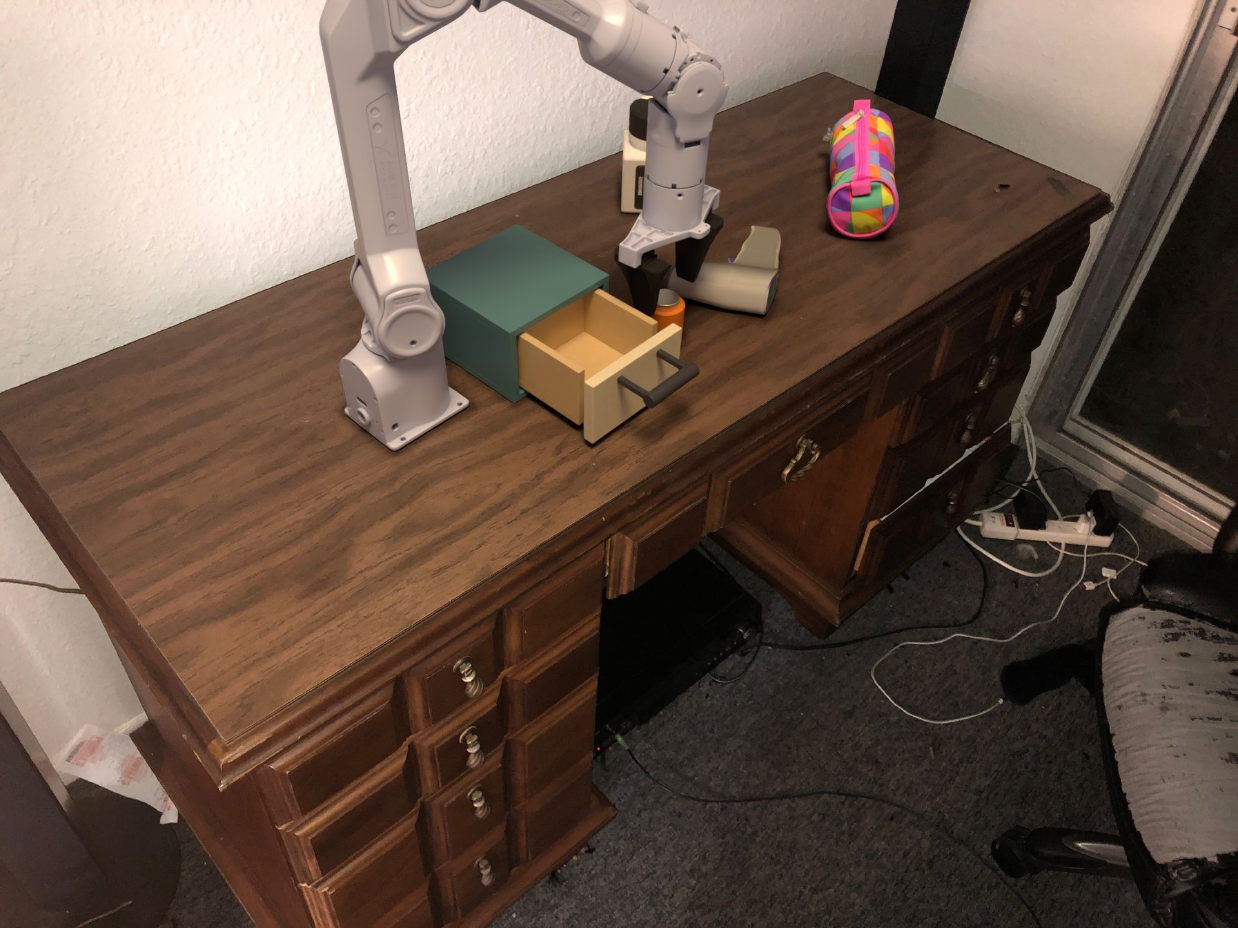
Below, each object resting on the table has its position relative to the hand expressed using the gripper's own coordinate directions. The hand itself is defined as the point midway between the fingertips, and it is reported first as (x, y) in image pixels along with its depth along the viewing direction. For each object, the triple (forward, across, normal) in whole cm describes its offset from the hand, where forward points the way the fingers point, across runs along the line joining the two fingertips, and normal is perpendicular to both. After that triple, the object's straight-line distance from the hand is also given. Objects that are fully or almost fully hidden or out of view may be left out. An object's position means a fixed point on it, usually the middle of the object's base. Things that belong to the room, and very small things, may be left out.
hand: (665, 294), depth 98 cm
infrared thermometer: (+6, +15, +1) cm, 16 cm away
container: (+6, +23, +18) cm, 30 cm away
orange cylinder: (+6, 0, 0) cm, 6 cm away
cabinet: (+6, -10, +12) cm, 17 cm away
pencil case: (+6, +40, -3) cm, 41 cm away
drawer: (+5, -12, -1) cm, 13 cm away
